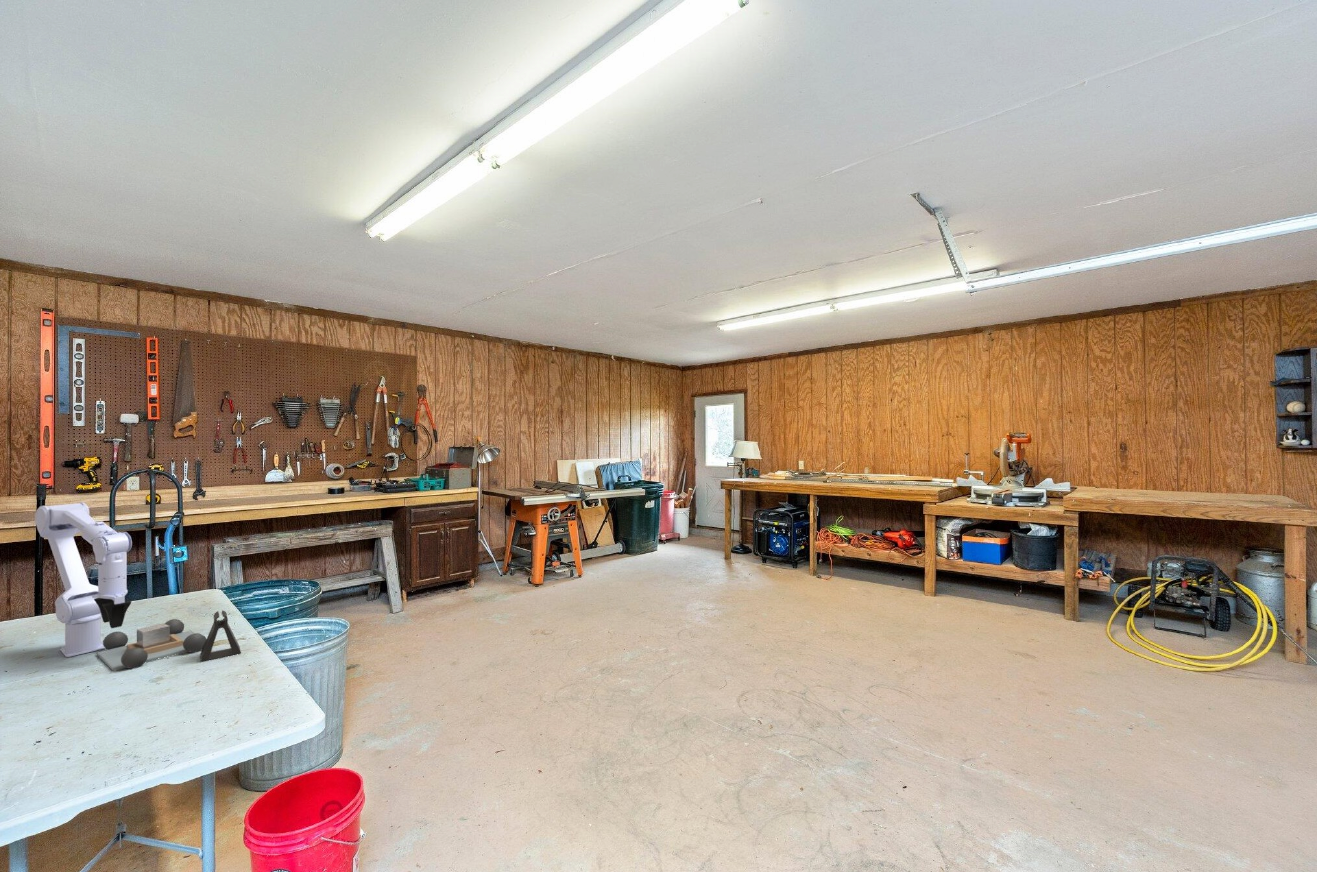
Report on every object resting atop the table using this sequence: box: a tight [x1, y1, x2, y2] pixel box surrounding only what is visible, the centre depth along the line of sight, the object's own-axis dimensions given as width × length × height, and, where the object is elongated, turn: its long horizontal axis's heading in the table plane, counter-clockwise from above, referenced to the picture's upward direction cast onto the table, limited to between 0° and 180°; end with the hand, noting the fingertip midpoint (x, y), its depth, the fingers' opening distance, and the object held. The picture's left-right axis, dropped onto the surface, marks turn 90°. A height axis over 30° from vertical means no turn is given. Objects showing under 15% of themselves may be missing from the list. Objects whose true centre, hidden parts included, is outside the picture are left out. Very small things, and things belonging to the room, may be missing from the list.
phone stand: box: [199, 609, 242, 663], centre depth 157 cm, size 9×6×12 cm, turn 130°
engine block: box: [136, 622, 170, 649], centre depth 160 cm, size 4×6×6 cm
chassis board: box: [96, 618, 207, 672], centre depth 160 cm, size 22×21×5 cm
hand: (112, 624), depth 155 cm, fingers open, 7 cm apart
